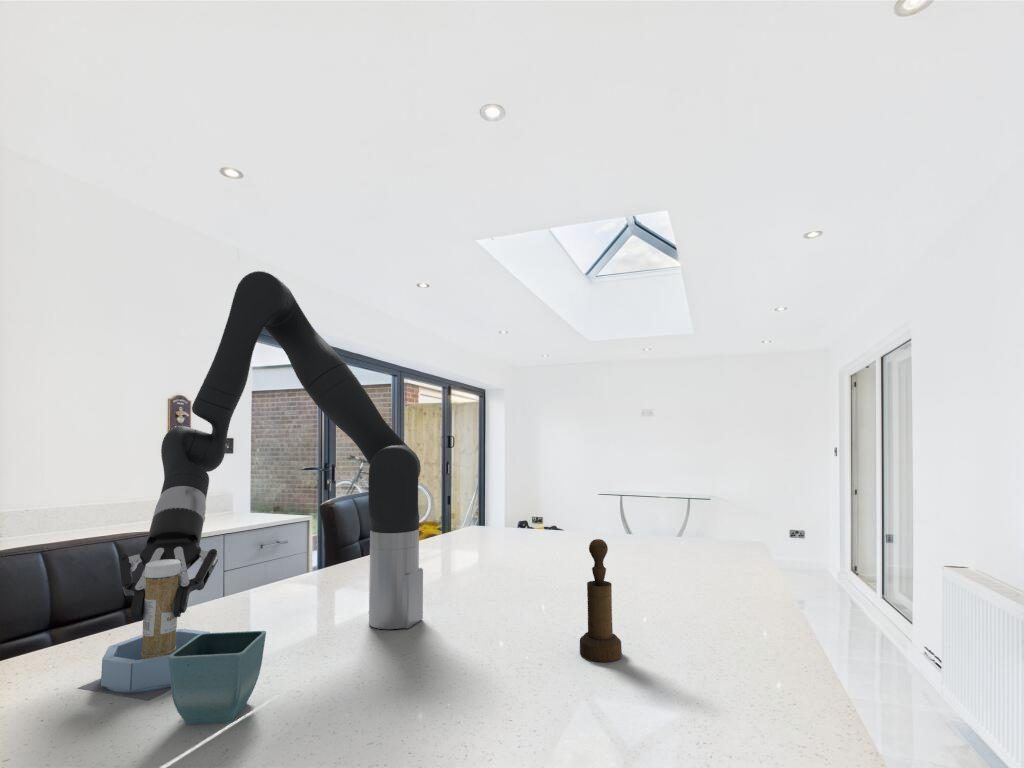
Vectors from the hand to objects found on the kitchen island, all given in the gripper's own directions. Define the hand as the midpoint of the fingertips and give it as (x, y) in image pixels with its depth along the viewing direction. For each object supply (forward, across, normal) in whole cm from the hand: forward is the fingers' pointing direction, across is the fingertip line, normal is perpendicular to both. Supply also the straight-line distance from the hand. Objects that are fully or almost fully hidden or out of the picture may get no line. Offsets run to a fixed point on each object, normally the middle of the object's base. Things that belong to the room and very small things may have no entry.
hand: (157, 615), depth 83 cm
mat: (+5, 0, +8) cm, 9 cm away
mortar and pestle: (+17, +65, -4) cm, 67 cm away
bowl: (+5, 0, +7) cm, 9 cm away
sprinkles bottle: (+3, 0, +6) cm, 7 cm away
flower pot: (+17, +10, -4) cm, 20 cm away
